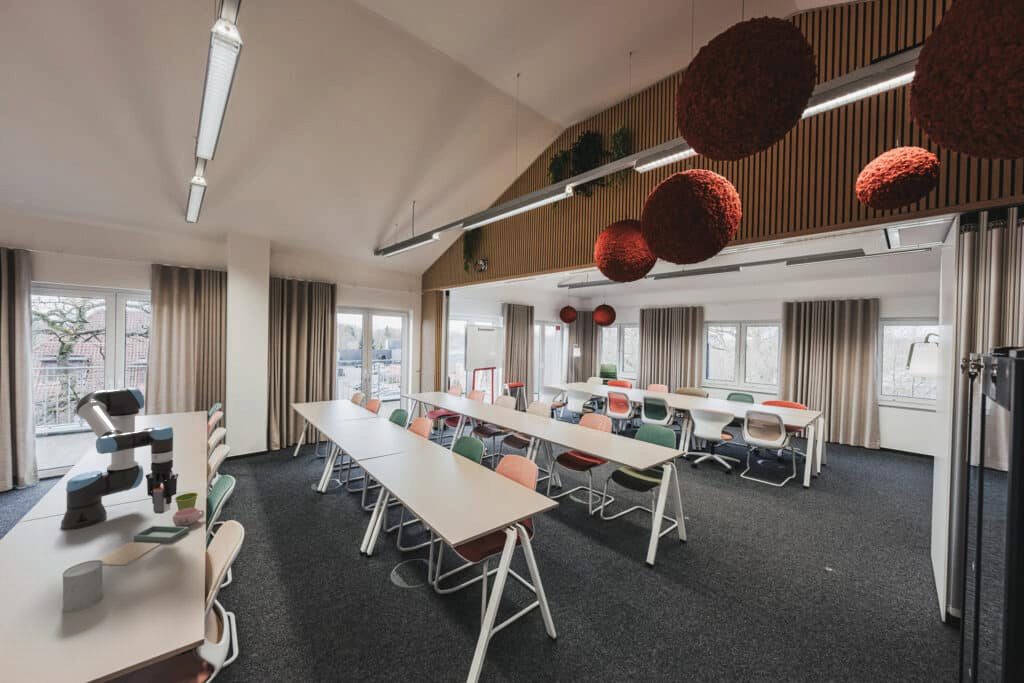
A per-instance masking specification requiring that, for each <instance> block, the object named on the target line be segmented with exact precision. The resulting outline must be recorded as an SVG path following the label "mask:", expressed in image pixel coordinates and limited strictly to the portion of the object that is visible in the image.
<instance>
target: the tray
mask: <svg viewBox="0 0 1024 683" xmlns="http://www.w3.org/2000/svg"><path fill="white" fill-rule="evenodd" d="M188 533H189V527H188V526H176V525H175V526H171V525H169V526H168V525H152V526H150V527H148V528H146V529H144V530H142V531H140V532H138V533H137V534H134V535H133V542H142V543H165V544H166V543H168V544H169V543H173V542H174V541H176V540H178V539H179V538H181V537H183V536H185V535H187V534H188Z"/></svg>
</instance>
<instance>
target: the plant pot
mask: <svg viewBox="0 0 1024 683" xmlns="http://www.w3.org/2000/svg"><path fill="white" fill-rule="evenodd" d="M198 496H199V493H198V492H189V493H188V492H187V493H183V494H180V495H178V496H176V497H175V498H174V500H175V502H176V505H177V512H178V511H180V510H183V509H187V508H196V503H197V498H198Z"/></svg>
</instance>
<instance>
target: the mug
mask: <svg viewBox="0 0 1024 683" xmlns="http://www.w3.org/2000/svg"><path fill="white" fill-rule="evenodd" d="M200 513H201V515H200ZM204 515H205V511H204V510H202V509H199V508H197V507H195V508H187V509H183V510H180V511H178V510H177V511H176V512H175V513H174V514H173V515H172V522H173V523H174V525H175V527H187V526H190V525H192V524H195V522H197V520H198V519H199V518H201V517H203V516H204Z"/></svg>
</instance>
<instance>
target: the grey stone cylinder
mask: <svg viewBox="0 0 1024 683" xmlns="http://www.w3.org/2000/svg"><path fill="white" fill-rule="evenodd" d="M103 566H104V565H103V562H102V561H100V560H98V559H93V560H88V561H83V562H80V563H77V564H75V565H73V566H70V567H69V568H66V570H64V571H63V572H62V611H63V612H66V613H73V612H77V611H81V610H84V609H86V608H90V607H91V606H93V605H95V604H97V603H98V602H99V601H101V600H102V598H103V597H104V594H103Z"/></svg>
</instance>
